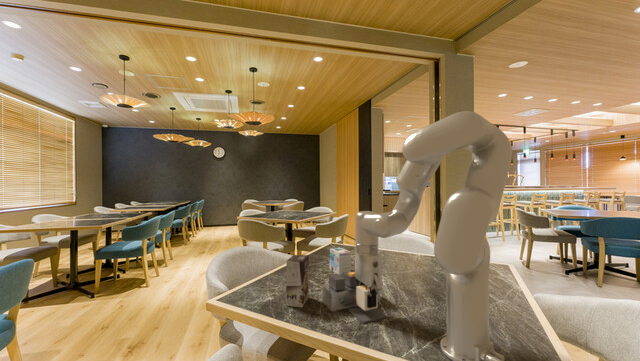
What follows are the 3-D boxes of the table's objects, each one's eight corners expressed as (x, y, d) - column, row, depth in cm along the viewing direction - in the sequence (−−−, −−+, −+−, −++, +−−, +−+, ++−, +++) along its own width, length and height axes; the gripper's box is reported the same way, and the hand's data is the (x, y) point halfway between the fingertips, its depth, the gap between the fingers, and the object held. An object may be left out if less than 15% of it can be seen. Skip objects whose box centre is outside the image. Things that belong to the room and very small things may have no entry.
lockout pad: (386, 317, 86) (386, 315, 86) (363, 323, 82) (363, 321, 82) (371, 306, 94) (370, 304, 94) (348, 310, 91) (348, 309, 91)
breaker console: (381, 301, 98) (381, 285, 98) (332, 312, 90) (332, 294, 90) (368, 293, 106) (368, 277, 106) (322, 301, 98) (322, 285, 98)
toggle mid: (359, 285, 96) (359, 273, 97) (350, 287, 95) (350, 275, 95) (350, 280, 102) (350, 268, 102) (342, 281, 101) (342, 270, 101)
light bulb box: (329, 269, 135) (329, 248, 136) (340, 267, 138) (340, 246, 138) (339, 276, 126) (339, 253, 126) (351, 274, 129) (351, 251, 129)
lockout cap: (377, 307, 87) (377, 287, 87) (364, 310, 85) (364, 289, 85) (368, 301, 92) (368, 282, 92) (356, 304, 90) (356, 284, 90)
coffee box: (303, 307, 93) (303, 261, 93) (285, 306, 94) (285, 260, 95) (309, 297, 102) (309, 254, 102) (293, 295, 103) (293, 254, 104)
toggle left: (345, 289, 94) (345, 278, 94) (336, 290, 92) (336, 280, 92) (337, 283, 99) (337, 273, 99) (328, 284, 98) (328, 274, 98)
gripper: (392, 253, 82) (392, 312, 82) (362, 242, 98) (362, 292, 98) (372, 256, 79) (372, 317, 79) (344, 244, 95) (344, 295, 95)
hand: (366, 302), depth 88 cm, fingers closed on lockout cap, 4 cm apart
